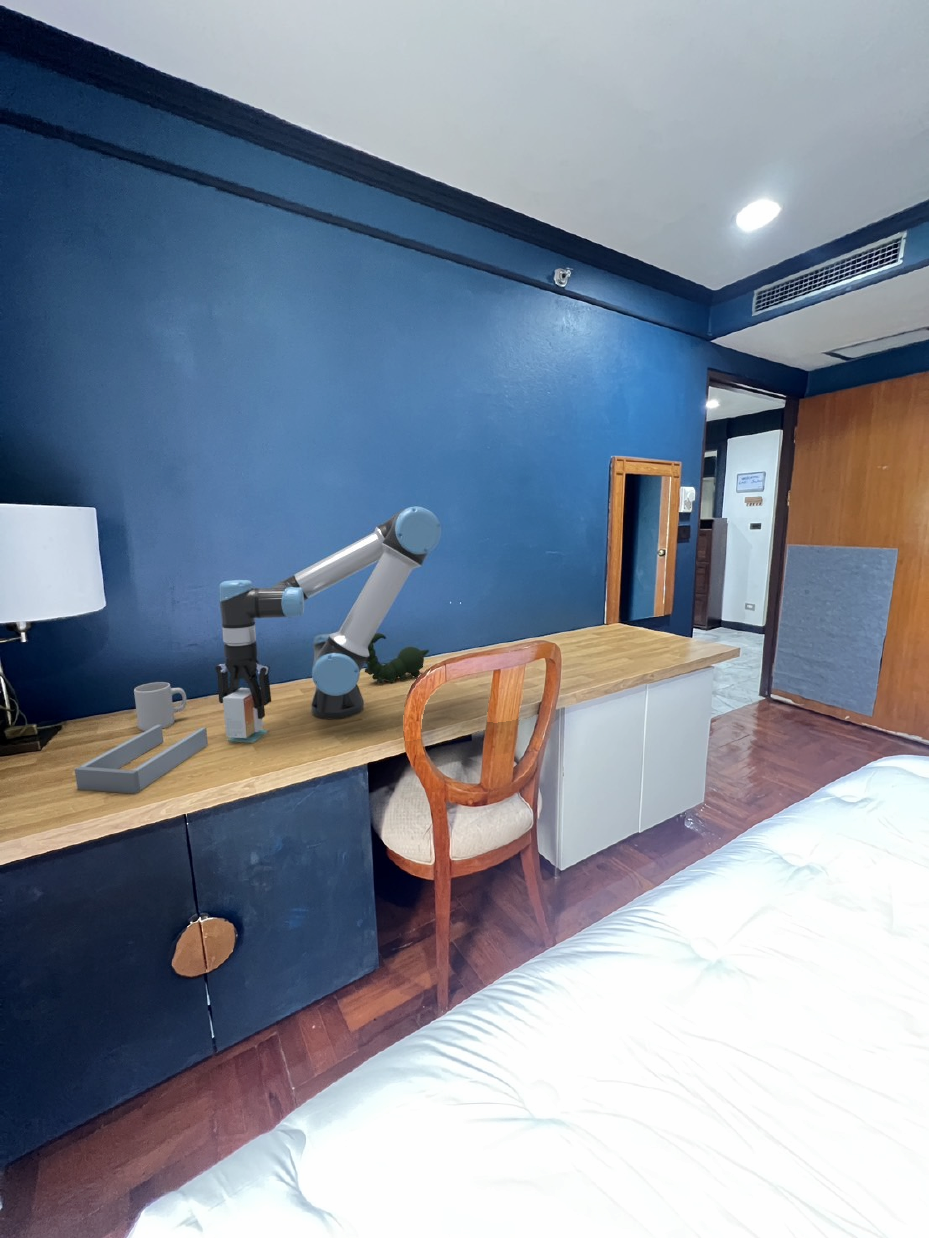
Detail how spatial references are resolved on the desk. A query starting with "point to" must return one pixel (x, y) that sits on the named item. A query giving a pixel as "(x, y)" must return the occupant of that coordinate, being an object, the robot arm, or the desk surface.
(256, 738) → the pad
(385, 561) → the robot arm
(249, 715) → the small box
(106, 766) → the channel
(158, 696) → the mug
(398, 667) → the toy figurine
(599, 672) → the desk surface
